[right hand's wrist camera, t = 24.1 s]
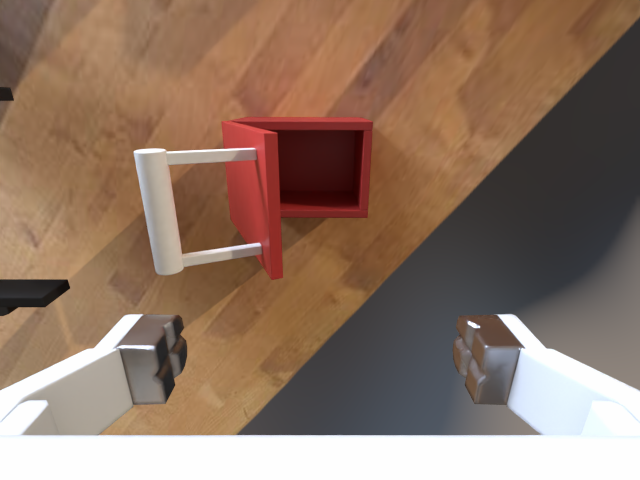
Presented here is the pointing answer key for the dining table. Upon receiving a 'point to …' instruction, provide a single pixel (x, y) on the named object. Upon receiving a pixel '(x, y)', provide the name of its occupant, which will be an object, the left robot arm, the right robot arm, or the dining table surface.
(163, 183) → the lid
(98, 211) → the dining table surface
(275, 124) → the chest
